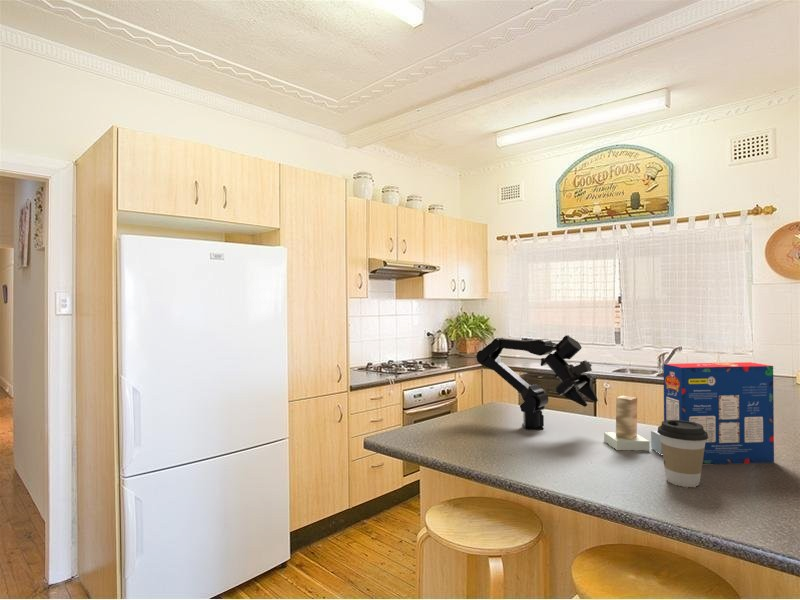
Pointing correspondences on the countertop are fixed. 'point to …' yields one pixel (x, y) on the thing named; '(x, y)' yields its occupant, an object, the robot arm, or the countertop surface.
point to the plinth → (626, 442)
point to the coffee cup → (682, 451)
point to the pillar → (626, 417)
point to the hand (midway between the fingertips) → (591, 403)
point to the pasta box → (725, 408)
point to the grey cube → (656, 441)
